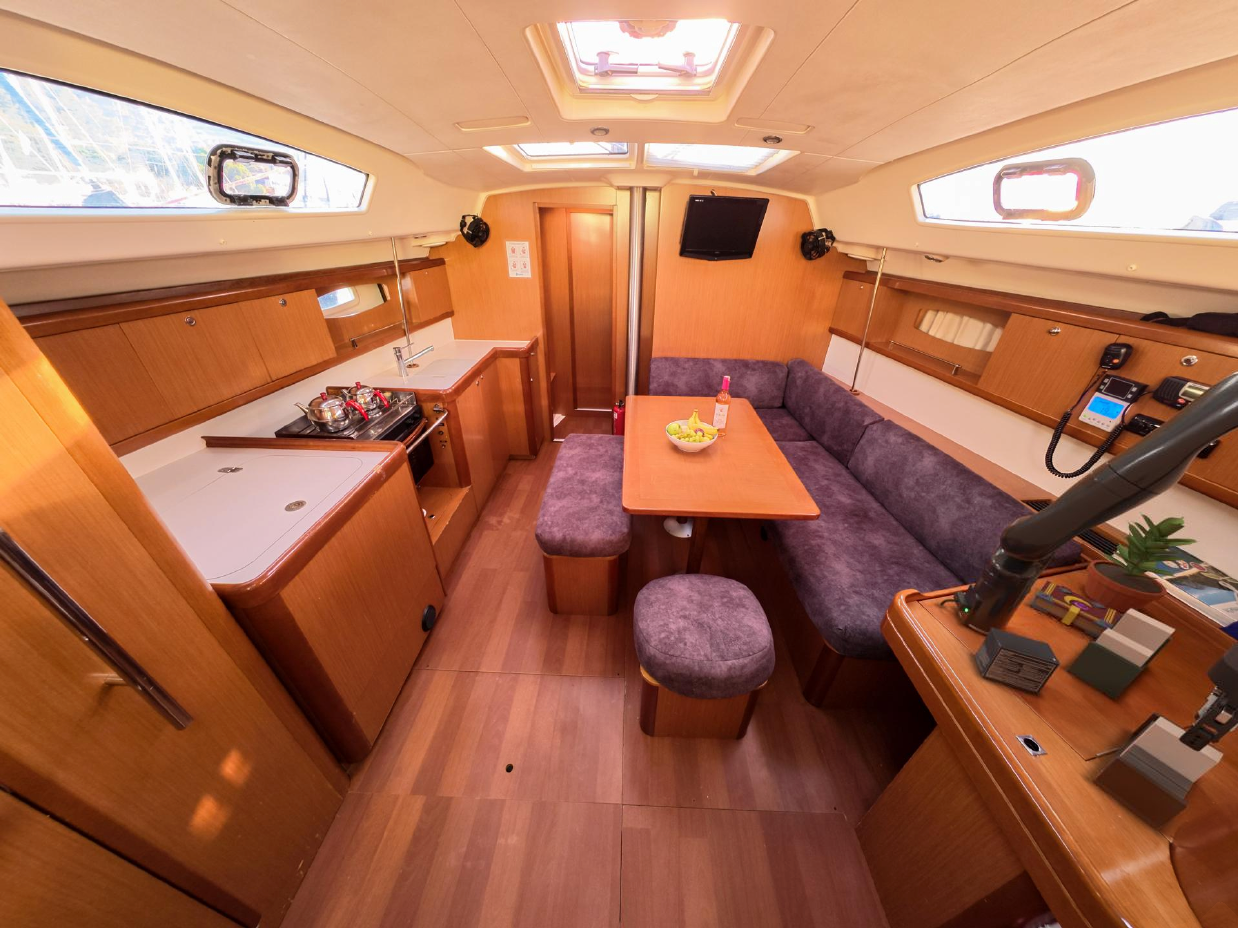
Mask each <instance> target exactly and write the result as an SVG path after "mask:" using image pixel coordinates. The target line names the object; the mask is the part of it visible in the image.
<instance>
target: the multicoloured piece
mask: <svg viewBox="0 0 1238 928" xmlns="http://www.w3.org/2000/svg"><path fill="white" fill-rule="evenodd" d="M1175 631H1176V628H1173V627H1171V626H1169V625H1167V624H1165V623H1163V622H1161V621H1160V620H1157V619H1155V618H1152V617H1150V616H1148V615H1146V614H1144V613H1141V612H1140V611H1138V610H1137V611H1136V610H1134V609H1132V608H1131V609H1130V610H1128V611H1127V612H1126V613H1122V614H1120V616H1119V619H1118V620H1117V621H1116V622H1115V623H1114V625H1113V626H1112V627H1111V628H1110V629H1109V628H1108V629H1106V630H1105V631H1104V632H1103V633H1102V634H1101V635H1100V637H1099V638H1098V639H1097V638H1096V640H1095V641H1094V640H1090V641H1089V643H1088V644H1087V645H1086V646H1085V648H1083V650H1082V651H1081V653H1080V654H1079V655H1078V656H1077V657H1076V659H1075V660H1074V661H1073V662H1072V664H1071V665H1070V666H1069V667H1068V668H1067V670H1066V671H1067V672H1069V673H1070V674H1072V675H1073V676H1075V677H1078V678H1079V679H1080V680H1082V681H1083V682H1086V683H1087V684H1088V685H1090V686H1092V687H1093V688H1095V689H1096V690H1097V691H1100V692H1102V693H1103V694H1104V695H1106V696H1108V697H1109V698H1110V699H1113V700H1116V699H1117V698H1118V697H1119V696H1120V695H1121V694H1122V693H1123V692H1124V691H1125V690H1126V688H1128V686H1129V685H1130V684H1131V683H1132V682H1133V681H1134V680H1135V679H1136V678H1137V677H1138V676H1139V675H1140V674H1141V673H1142V672H1143V671H1144V670H1145V669H1146V668H1147V666H1148V665H1149V664H1150V663H1151V662H1152V661H1153V660H1154V659H1155V657H1156V656H1157V655H1158V654H1159V653H1160V652H1161V651H1162V650H1163V649H1164V648H1165V647H1166V646H1167V645H1168V644H1169V643H1170V642H1171V640H1172V639H1173V638H1172V637H1171V635H1172V634H1173V633H1174V632H1175Z"/></svg>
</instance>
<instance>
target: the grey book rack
mask: <svg viewBox="0 0 1238 928" xmlns="http://www.w3.org/2000/svg"><path fill="white" fill-rule="evenodd" d="M1160 717H1162V718H1164V719H1166V720H1167V721H1169V722H1171V723H1172V724H1174V725H1176V726H1177V727H1179V728H1181V729H1182V730H1184V731H1187V730H1188V729H1186V728H1184V727H1182V726H1180V724H1177V723H1176V722H1174V721H1172V720H1170V719H1169V718H1167V717H1165V716H1164V715H1162V714H1161V713H1159V712H1157V711H1154V712H1153V713H1151V715H1150V716H1148V718H1147V719H1146V720H1144V722H1142V723H1141V724H1140V726H1138V727H1137V728H1136V729H1135V730H1133V732H1132V733H1131V734H1130V735H1129V737H1128V738H1127V739H1126V740H1125V741H1124V743H1123V744H1122V745H1121V746H1120V747H1119V749H1118V750H1117V751H1116V752H1115V753H1114V754H1113V756H1112V757H1111V758H1110V760H1108V762H1107V763H1106V764H1105V765H1104V766H1103V768H1102V769H1101V770H1100V772H1098V774H1097V775H1096V776H1095V777H1094V779H1092V783H1093V784H1095V785H1096V786H1098V787H1099V789H1102V790H1103V791H1104V792H1105V793H1107V795H1109V796H1111V797H1112V798H1113V799H1115V800H1116V801H1117V802H1119V803H1120V804H1122V806H1124V807H1125V808H1126V809H1128V810H1129V811H1130V812H1132V813H1133V814H1134V815H1136V816H1137V817H1138V818H1140V820H1142V821H1143V822H1145V823H1147V824H1148V825H1149V826H1150V827H1151V828H1153V829H1154V830H1156V831H1158V830H1160V829H1161V828H1162V827H1164V825H1165V824H1167V823H1168V822H1170V821H1171V820H1172V819H1174V818H1175V817H1177V815H1179V814H1181V813H1182V812H1184V810H1186V809H1187V808H1188V807H1189V805H1190V803H1189V802H1187V801H1186V800H1185V797H1186V796H1187V794H1188V793H1189V791H1190V790H1191V788H1192V786H1193V784H1194V782H1192V781H1190V780H1189V779H1187V778H1186V777H1184V776H1183V775H1181V774H1180V773H1178V772H1177V771H1175V770H1174V769H1172V768H1170V767H1169V766H1167V765H1166V764H1164V763H1163V762H1161V761H1160V760H1158V759H1157V758H1155V757H1154V756H1152V755H1151V754H1149V753H1148V752H1146V751H1145V750H1143V749H1142V748H1140V747H1139V746H1137V745H1136V744H1133V745H1132V746H1131V747H1130V748H1129V749H1128V750H1127V751H1126V752H1125V753H1124V754H1123V755H1122V756H1120V755H1121V754H1122V753H1123V752H1124V751H1125V750H1126V749H1127V748H1128V747H1129V746H1130V745H1131V744H1132V743H1133V742H1134V741H1135V740H1136V739H1138V738H1139V737H1140V736H1141V735H1142V734H1143V733H1144V732H1145V731H1146V730H1147V729H1148V728H1149V727H1150V726H1151V725H1152V724H1153V723H1154V722H1155V721H1156V720H1158V719H1159V718H1160ZM1208 745H1209V746H1211V747H1212V748H1214V749H1216V750H1217V751H1219V752H1221V753H1222V750H1221V749H1219V748H1217V747H1215V746H1214V745H1212V744H1211V743H1209V744H1208Z"/></svg>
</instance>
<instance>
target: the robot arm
mask: <svg viewBox="0 0 1238 928" xmlns="http://www.w3.org/2000/svg"><path fill="white" fill-rule="evenodd" d="M1237 429H1238V371H1236V372H1233V373H1231V374H1229V375H1227V376H1225V377H1223V378H1222V379H1220V380H1219V381H1217V382H1215V383H1214V384H1213V385H1211V386H1210V387H1209V388H1207V389H1206V390H1205V391H1203V392H1202V393H1201V394H1199V395H1198V396H1197V397H1195V398H1194V399H1193V400H1192V401H1190V402H1189V403H1188V404H1187V405H1185V406H1184V407H1183V408H1182V409H1181V410H1179V411H1178V412H1176V413H1175V414H1174V415H1173V416H1172V417H1170V418H1169V419H1168V420H1166V421H1165V422H1164V423H1162V424H1161V425H1160V426H1158V427H1157V428H1155V429H1154V430H1152V431H1151V432H1149V433H1148V434H1146V435H1145V436H1144V437H1142V438H1140V439H1138V441H1136V442H1135V443H1133V444H1132V445H1130V446H1129V447H1127V448H1125V449H1124V450H1123V451H1121V452H1120V453H1117V454H1116V455H1115V456H1113V457H1111V458H1109V459H1108V460H1106V461H1104V462H1103V463H1102V464H1100V465H1099V466H1097V467H1096V468H1094V469H1093V470H1091V471H1090V472H1088V473H1087V474H1085V475H1084V476H1082V477H1081V478H1080V479H1079V480H1078V481H1077V482H1075V483H1074V484H1072V485H1071V486H1070V487H1069V488H1068V489H1067V490H1065V491H1064V492H1063V493H1061V495H1060V496H1058V497H1057V498H1056V499H1055V500H1054V501H1053V502H1052V503H1050V504H1049V505H1048V506H1046V507H1044V508H1043V509H1041V510H1040V511H1038V512H1036V513H1034V514H1032V515H1025V516H1021V517H1019V518H1016V519H1015V520H1013V521H1012V522H1011V523H1010V524H1008V525H1007V526H1006V527H1005V528H1004V529H1003V530H1002V532H1001V534H1000V537H999V545H998V547H997V548H996V549H995V550H994V552H993V553H992V554H991V555H990V557H989V559H988V560H987V562H986V564H985V565H984V567H983V569H982V570H981V573H980V574H979V576H978V578H977V580H976V581H975V584H971V583H970V585H968V587H967V589H966V590H965V592H963V591H959V590H956V591H955V592H954V594H953V596H952V598H947V599H943V600H942V601H941V602H940V603H939V605H940V606H941V607H942V606H944V605H945V604H946V603H955V605H956V608H955V609H956V613H957V615H958V617H959V619H960V622H961V625H962V626H965V627H968V628H970V629H971V630H973V631H975V632H977V633H979V634H981V635H984V636H987V635H988V633H989V632H990V630H991V628H995V629H998V630H1002V631H1005V629H1006V628H1007V626H1008V624H1009V623H1010V621H1011V620H1012V618H1013V617H1014V616H1015V614H1016V613H1017V611H1018V610H1019V608H1020V606H1021V604H1022V603H1023V602H1024V600H1025V598H1026V597H1027V595H1028V594H1029V592H1031V589H1032V588H1033V586H1034V584H1035V583H1036V582H1037V580H1038V579H1040V577H1041V575H1042V574H1043V573H1044V571H1045V570H1046V568H1047V567H1048V565H1049V564H1050V562H1051V561H1052V559H1053V558H1054V556H1055V555H1056V553H1057V552H1058V550H1059V549H1061V548H1062V547H1063V546H1064V545H1066V544H1067V543H1069V542H1071V541H1072V540H1073V539H1075V538H1076V537H1077V536H1079V535H1081V534H1083V533H1085V532H1087V531H1089V530H1091V529H1094V528H1096V527H1098V526H1100V525H1103V524H1104V523H1107V522H1109V521H1111V520H1114V519H1116V518H1117V517H1120V516H1122V515H1124V514H1126V513H1127V512H1129V511H1132V510H1134V509H1136V508H1138V507H1140V506H1142V505H1144V504H1146V503H1148V502H1149V501H1151V500H1153V499H1155V498H1157V497H1159V496H1160V495H1162V494H1163V493H1165V492H1167V491H1169V490H1170V489H1172V488H1173V487H1174V486H1175V485H1177V484H1178V482H1179V481H1180V480H1181V479H1182V477H1183V476H1184V475H1185V473H1187V470H1188V469H1189V467H1190V466H1191V464H1192V462H1193V460H1195V458H1196V457H1197V456H1198V455H1199V453H1201V451H1203V450H1204V449H1205V448H1207V447H1208V446H1209V445H1211V444H1213V443H1214V442H1216V441H1217V440H1219V439H1221V438H1222V437H1224V436H1226V435H1228V434H1230V433H1231V432H1233V431H1235V430H1237ZM1206 675H1207V678H1208V679H1209V680H1210V682H1211V683H1212V684H1214V685H1215V686H1214V687H1213V688H1212V690H1211V691H1210V693H1209V695H1207V697H1206V702H1205V703H1204V704H1203V705H1202V706H1201V707H1200V708H1198V709H1199V710H1197V712H1196V714H1194V719H1195V721H1194V722H1192V723H1191V724H1190V726H1189V728H1188V729H1186V730H1187V731H1186V732H1185V733H1184V734H1183V735H1182V736H1181V737H1180V738H1179V740H1180V742H1182V743H1183V744H1185V745H1187V746H1188V747H1190V748H1191V749H1193V750H1195V751H1201V750H1202V749H1203V748H1204V747H1205V746H1207V745H1208V744H1211V743H1212V744H1216V743H1217V744H1218V743H1219V742H1220V740H1221V739H1222V738H1223V737H1224V736H1226V734H1228V733H1229V732H1234V731H1235V730H1236V728H1237V727H1238V641H1236V642H1235V643H1234V644H1233V645H1232V646H1231V647H1229V649H1228V650H1227V651H1226V652H1225V653H1224V654H1223V655H1221V656H1220V657H1219V658H1218V659H1217V660H1216V662H1214V663H1213V664H1212V665H1211V666H1210V667H1209V668H1208V669H1207V671H1206ZM1212 729H1213V730H1212Z"/></svg>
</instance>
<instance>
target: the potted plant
mask: <svg viewBox="0 0 1238 928" xmlns="http://www.w3.org/2000/svg"><path fill="white" fill-rule="evenodd" d="M1140 516H1141V517H1142V518H1143V520H1144V521H1145V524H1146V525H1147V527H1148V528H1149V529H1148V530H1147V529H1146V528H1145V527H1144V525H1142V524H1140V523H1139V522H1136V521H1132V523H1133V524H1131V523H1130V521H1128V520H1126V521H1127V523H1128V530H1129V532H1128V534H1127V535H1126V536H1123V538H1124V539H1125V540H1126V541H1127V544H1128V545H1126V546H1124V545H1122V544H1121V543H1120V542H1118V544H1119V545H1117V546H1116V549H1117V551H1113V552H1112V551H1111V553H1113V554H1114V555H1115V556H1117V557H1119V558H1120V559H1122V560H1123V561H1124V562H1122V561H1121V560H1119V559H1118V558H1116V557H1114V556H1112V555H1110V554H1108V553H1107V554H1106V553H1100V552H1098V554H1099V555H1101V556H1103V557H1104V558H1105V559H1107V560H1104V559H1094V560H1092V561H1091V562H1090V563H1089V564H1088V565H1087V567H1086V571H1087V577H1086V582H1085V586H1084V593H1085V594H1086V596H1088V597H1089V599H1090V600H1092V601H1094V600H1096V601H1098V602H1101V603H1103V604H1105V606H1106V607H1108V608H1111V609H1113V610H1115V611H1117V612H1120V613H1123V614H1125V613H1126V612H1127V611H1128V610H1130V609H1131V608H1132V609H1134V610H1136V611H1138V610H1140V609H1142V608H1143V607H1145V606H1147V605H1149V604H1151V603H1153V602H1155V601H1160V600H1162V599H1163V598H1164V597H1165V595H1166V594H1167V593H1168V592H1167V587H1166V586H1164V585H1163V583H1161V582H1160V581H1159V580H1158V579H1159V578H1158V577H1153V576H1150V575H1149V574H1147V573H1153V574H1158V575H1161V576H1162V575H1163V576H1167V577H1173V578H1176V576H1175V575H1174V574H1173V572H1171V571H1168V570H1165V569H1160V568H1156V567H1157V565H1158V563H1159V562H1160V563H1161V562H1178V561H1179V562H1180V561H1189V560H1190V559H1189V558H1182V557H1179V556H1177V555H1179V554H1181V552H1180V551H1176V550H1174V551H1171V550H1168V549H1171V548H1173V547H1179V546H1180V547H1181V546H1190V545H1192V544H1195V543H1198V541H1197V540H1196V539H1194V538H1178V537H1177V538H1176V537H1175V538H1169V536H1172V535H1173V534H1175V533H1177V532H1179V531H1180V530H1182V529H1183V528H1185V525H1184V524H1185V521H1184V518H1185V516H1184V515H1183V516H1181V517H1174V516H1173V517H1172V516H1171V517H1167V518H1164V519H1163V520H1161V521H1160V522H1158V523H1157V524H1154V522H1153V521H1152V519H1151V518H1150V517H1149V516H1147V515H1146V514H1143V513H1140ZM1143 535H1144V536H1143ZM1173 554H1174V555H1173ZM1176 554H1177V555H1176ZM1177 579H1179V576H1177Z"/></svg>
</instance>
